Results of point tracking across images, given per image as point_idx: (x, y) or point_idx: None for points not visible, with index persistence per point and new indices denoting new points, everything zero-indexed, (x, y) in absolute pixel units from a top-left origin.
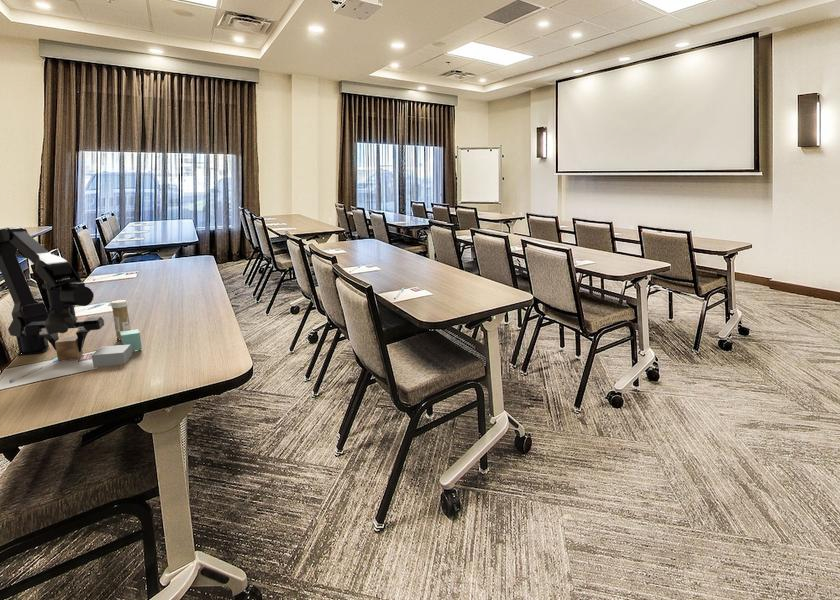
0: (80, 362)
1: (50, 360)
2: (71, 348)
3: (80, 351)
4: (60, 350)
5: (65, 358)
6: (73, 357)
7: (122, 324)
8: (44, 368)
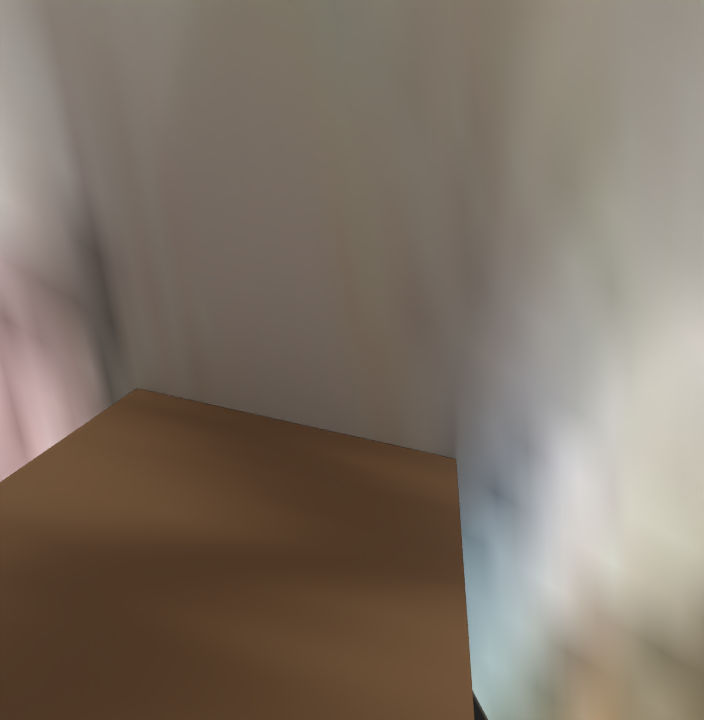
0: (52, 154)
1: (588, 602)
2: (69, 537)
3: None
4: (359, 585)
5: (321, 449)
6: (181, 422)
7: None
8: (700, 84)
